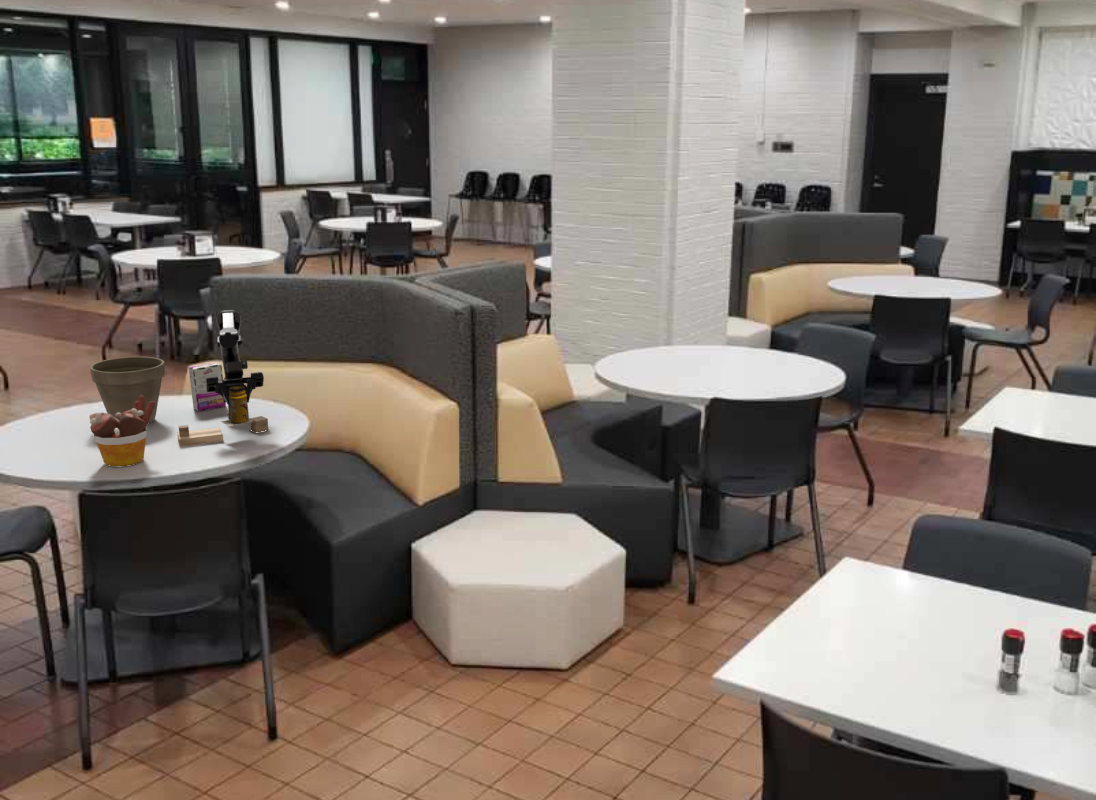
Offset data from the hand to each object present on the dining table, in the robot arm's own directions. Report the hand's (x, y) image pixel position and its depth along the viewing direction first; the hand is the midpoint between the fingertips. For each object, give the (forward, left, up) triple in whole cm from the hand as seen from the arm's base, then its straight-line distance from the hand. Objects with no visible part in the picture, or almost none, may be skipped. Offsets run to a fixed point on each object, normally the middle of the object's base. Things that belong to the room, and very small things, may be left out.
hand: (238, 403), depth 363 cm
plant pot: (-39, -33, -13) cm, 53 cm away
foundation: (-5, -13, -13) cm, 19 cm away
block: (-8, +7, -13) cm, 17 cm away
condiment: (-1, -1, -7) cm, 7 cm away
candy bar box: (-48, -6, -13) cm, 50 cm away
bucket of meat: (+10, -37, -13) cm, 40 cm away
